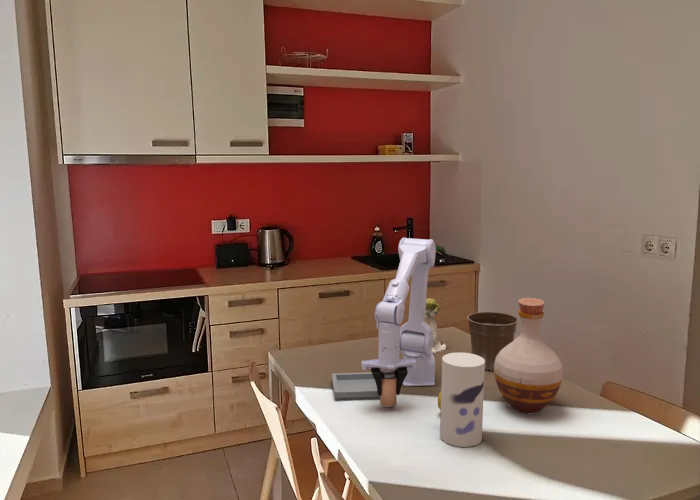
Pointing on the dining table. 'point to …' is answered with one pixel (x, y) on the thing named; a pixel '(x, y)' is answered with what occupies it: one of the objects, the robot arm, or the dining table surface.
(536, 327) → the jug
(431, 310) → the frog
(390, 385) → the shaker
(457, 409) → the container
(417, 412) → the dining table surface
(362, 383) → the tray
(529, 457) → the dining table surface
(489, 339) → the plant pot
